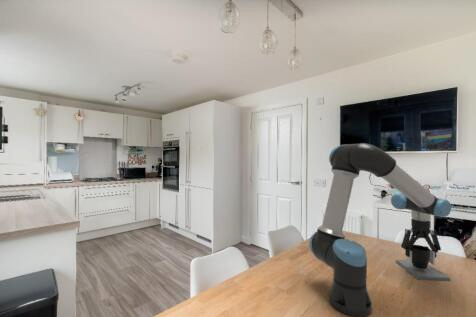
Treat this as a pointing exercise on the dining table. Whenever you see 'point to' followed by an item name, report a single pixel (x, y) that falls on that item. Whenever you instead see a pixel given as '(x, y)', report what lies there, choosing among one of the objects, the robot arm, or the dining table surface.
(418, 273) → the slate board
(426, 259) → the mug
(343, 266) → the robot arm
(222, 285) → the dining table surface
